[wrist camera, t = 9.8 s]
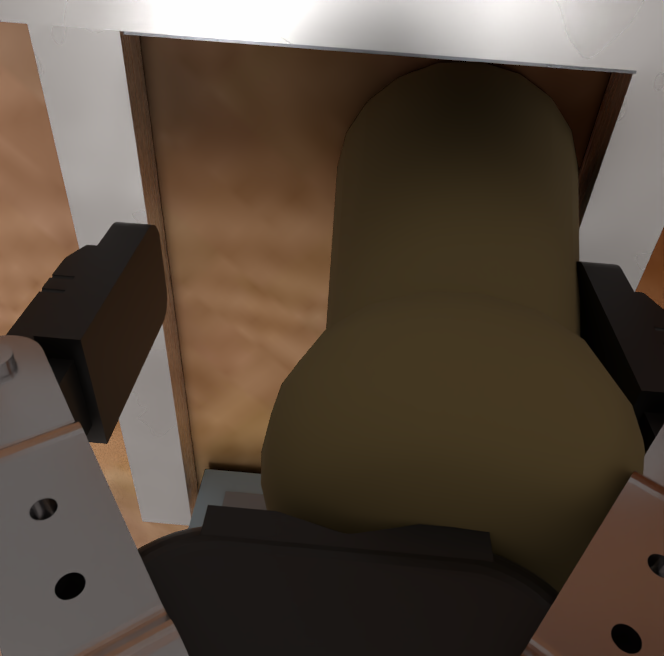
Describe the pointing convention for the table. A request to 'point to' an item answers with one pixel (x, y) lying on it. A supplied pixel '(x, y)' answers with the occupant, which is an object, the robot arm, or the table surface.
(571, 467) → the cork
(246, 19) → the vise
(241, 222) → the table surface
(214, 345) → the table surface
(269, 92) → the table surface
